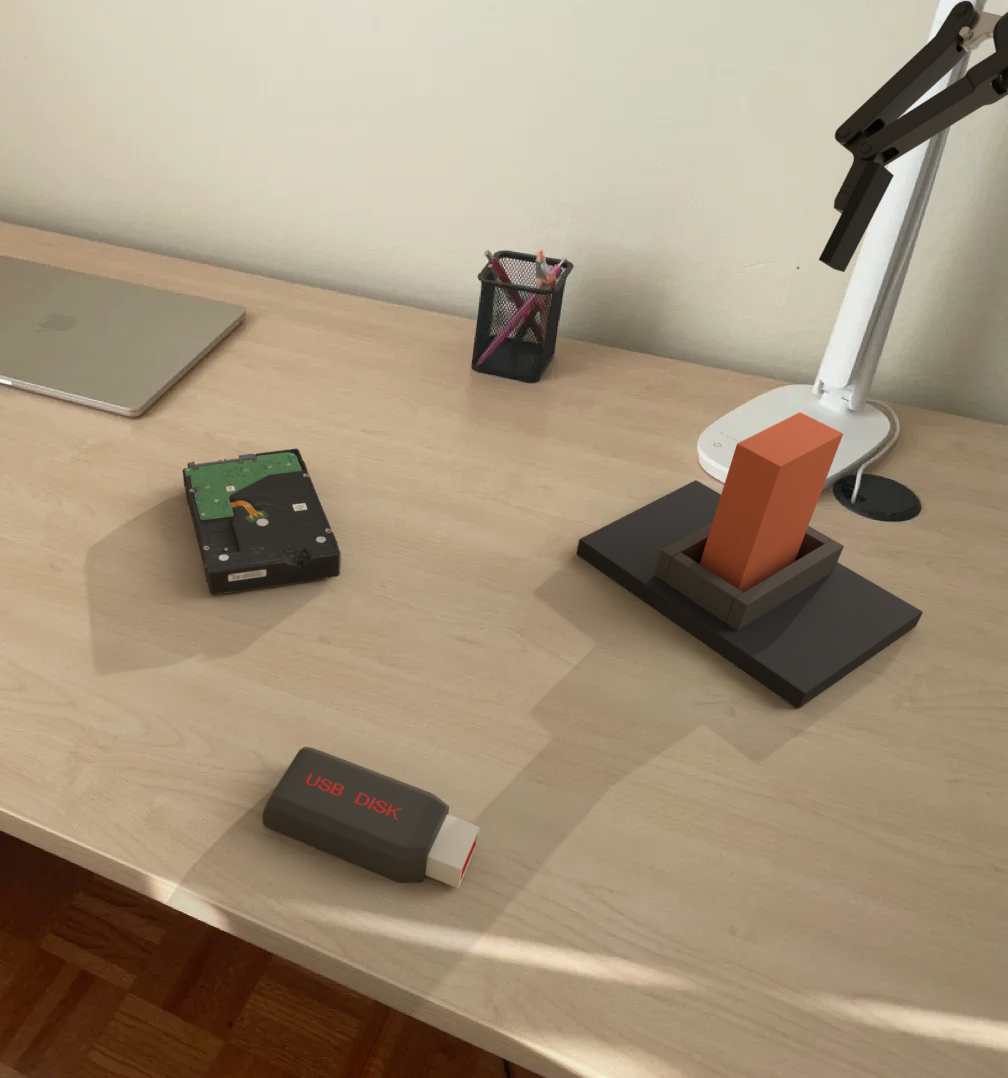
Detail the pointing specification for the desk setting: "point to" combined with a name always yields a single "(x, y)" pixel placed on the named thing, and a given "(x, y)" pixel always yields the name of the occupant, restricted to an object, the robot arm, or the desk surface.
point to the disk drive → (259, 522)
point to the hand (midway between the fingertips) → (934, 297)
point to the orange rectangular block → (769, 500)
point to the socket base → (752, 596)
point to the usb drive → (370, 820)
